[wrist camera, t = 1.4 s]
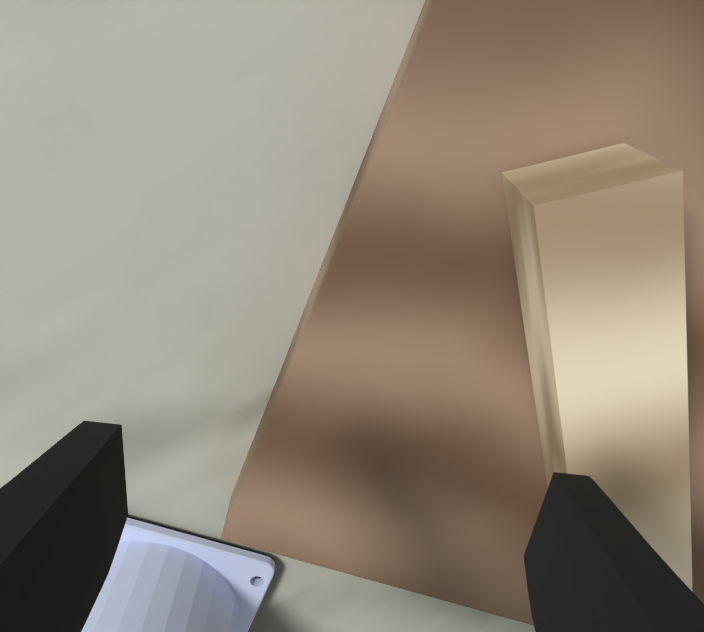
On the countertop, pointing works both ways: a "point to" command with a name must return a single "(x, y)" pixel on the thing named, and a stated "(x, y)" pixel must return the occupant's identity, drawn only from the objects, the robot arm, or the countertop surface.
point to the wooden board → (463, 299)
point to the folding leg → (609, 330)
